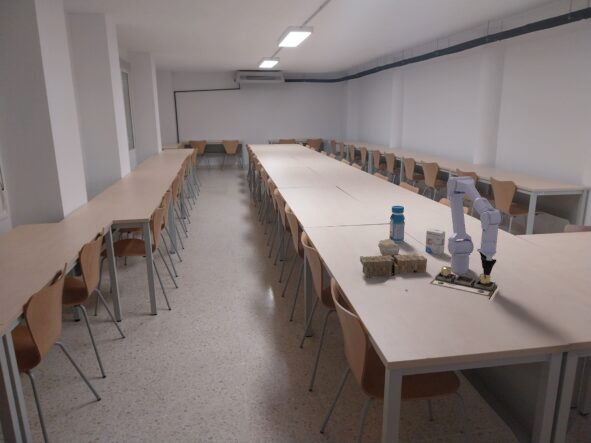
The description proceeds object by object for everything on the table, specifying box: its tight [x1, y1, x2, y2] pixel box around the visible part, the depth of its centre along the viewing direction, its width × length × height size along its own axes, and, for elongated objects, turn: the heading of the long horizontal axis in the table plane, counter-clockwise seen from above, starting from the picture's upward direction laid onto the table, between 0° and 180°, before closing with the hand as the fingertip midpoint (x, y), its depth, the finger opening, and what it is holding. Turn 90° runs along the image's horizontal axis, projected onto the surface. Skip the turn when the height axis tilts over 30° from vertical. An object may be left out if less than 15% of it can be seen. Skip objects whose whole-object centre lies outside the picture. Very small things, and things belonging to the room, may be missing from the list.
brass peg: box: [479, 273, 491, 287], centre depth 175 cm, size 4×4×5 cm
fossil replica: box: [377, 238, 400, 257], centre depth 220 cm, size 12×8×10 cm
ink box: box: [424, 228, 446, 256], centre depth 222 cm, size 9×5×12 cm, turn 47°
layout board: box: [429, 271, 498, 300], centre depth 178 cm, size 14×24×3 cm, turn 54°
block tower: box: [359, 253, 428, 278], centre depth 195 cm, size 8×8×29 cm
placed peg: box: [440, 265, 452, 279], centre depth 184 cm, size 4×4×5 cm
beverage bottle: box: [388, 205, 406, 243], centre depth 242 cm, size 8×8×20 cm
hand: (485, 271), depth 174 cm, fingers open, 7 cm apart
